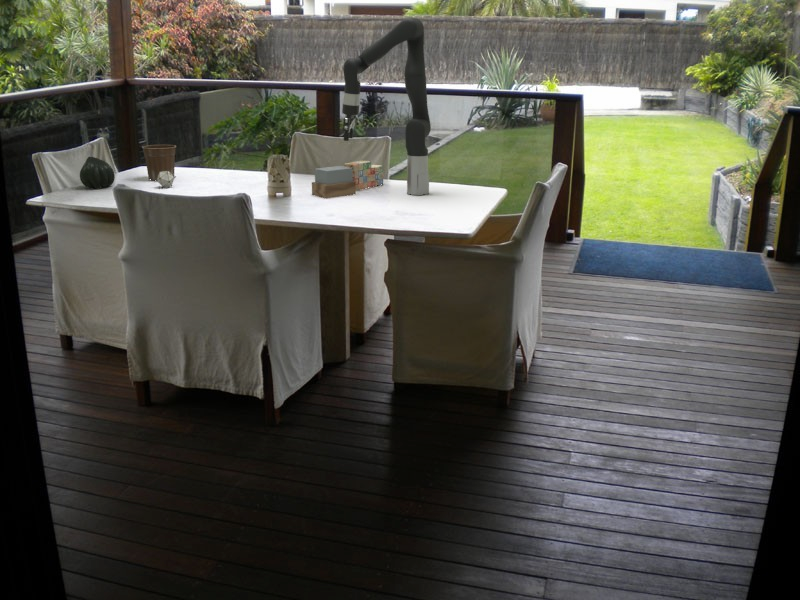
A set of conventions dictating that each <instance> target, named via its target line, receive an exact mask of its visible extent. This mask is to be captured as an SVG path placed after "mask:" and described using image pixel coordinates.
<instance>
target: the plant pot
mask: <svg viewBox="0 0 800 600" xmlns="http://www.w3.org/2000/svg"><path fill="white" fill-rule="evenodd" d="M141 148H142V151H143V155H144V160H145V164H146V171H147V176H148V180H149V179H151V180H150V181H153V180H157V178H158V175H159V171H160V172H162V171H168V170H169V172H170V173H171V174H172V175H173V176H174V177H175V158H176V157H175V156H176V148H177V145H175V144H150V145H149V144H148V145H144V146H141ZM158 170H159V171H158Z"/></svg>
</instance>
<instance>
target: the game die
mask: <svg viewBox="0 0 800 600" xmlns="http://www.w3.org/2000/svg"><path fill="white" fill-rule="evenodd" d="M158 171H159V170H158ZM176 177H177V176H175V175H174V176H173V175H172V174H171V173H170V172H169V170H168V171H162V172H160V171H159V175H158V178H157V180H156V181H155V182H157V183H158V184H159V185H160V186H161V188H162V189H164V188H165V187H172V186H173V183H174V180H175V178H176Z"/></svg>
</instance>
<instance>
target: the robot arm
mask: <svg viewBox="0 0 800 600" xmlns="http://www.w3.org/2000/svg"><path fill="white" fill-rule="evenodd" d="M424 40H425V27H424V24H423V22H422V21H421V20H420V19H419V18H418V17H405V18H403V19H402V20H401V21H400V22H398V24H396V25H395V27H393V28H392V29H391V30H390V31H389V32H388V33H387V34H385V35H384V36H382V37H381V38H380V39H378V40H377V41H375V42H373V44H370V45H369V46H368V47H366V48H365V49H364V50H362V51H361V54H360V55H358V56H356V57H349V58H347V59H346V60H345V61H344V64H343V78H344V90H343V91H344V92H343V99H342V108H341V110H342V111H341V112H342V114H344V115H345V117H344V118H343V124H342V125H343V126H342V132H343V141H344V142H345V141H346V142H348V141H349V139H353V138H354V130H355V128H356V121H357V120H356V118H357V116H358V115H359V114H360V102H361V101H360V100H361V98H360V97H361V82H360V80H359V79H358V75H359V74H361V73H363V72H365V71H366V70H367V69H369V68H370V67H371V65H373V64H374V63H377V62H378V61H379V60H380V59H382V58H384V57H385V56H386V55H387V54H388V53H390V51H391V50H392V49H394V48H395V47H396V46H398V45H400V44H402V43H404V42H406V43H407V44H406V45H407V57H406V61H405V65H404V66H405V68H404V85H405V91H406V94H407V97H408V99H409V102H410V104H411V112H412V114H411V115H412V119H410V120H409V121H408V122H407V123H406V126H405V132H404V134H405V135H404V137H405V148H406V151H407V153H406V154H407V160H406V162H407V163H406V170H407V171H406V194H407V193H408V194H407V195H410V194H411V195H413V196H423V194H425V195H429V194H430V172H429V150H428V148H427V147H426V138H427V137H428V136H429V135H430V133H431V130H432V129H431V125H432V124H431V121H430V114H429V109H428V107H429V106H428V93H427V75H426V74H427V73H426V66H425V65H426V63H425V61H426V60H425V51H424V50H425V47H424V45H425V43H424V42H425V41H424ZM428 193H429V194H428Z"/></svg>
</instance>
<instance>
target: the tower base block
mask: <svg viewBox="0 0 800 600" xmlns="http://www.w3.org/2000/svg"><path fill="white" fill-rule="evenodd" d="M356 193H357V191H356V182H354V181H353V182H346V183H338V184H330V185H325V184H321V183H316V182H315V181H311V195H312V196H314V195H315V196H316V197H318V196H319V198H322V197H323V199H330V198H331V199H332V198H339V197H347V195H348V196H354V195H353V194H355V195H356Z"/></svg>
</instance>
